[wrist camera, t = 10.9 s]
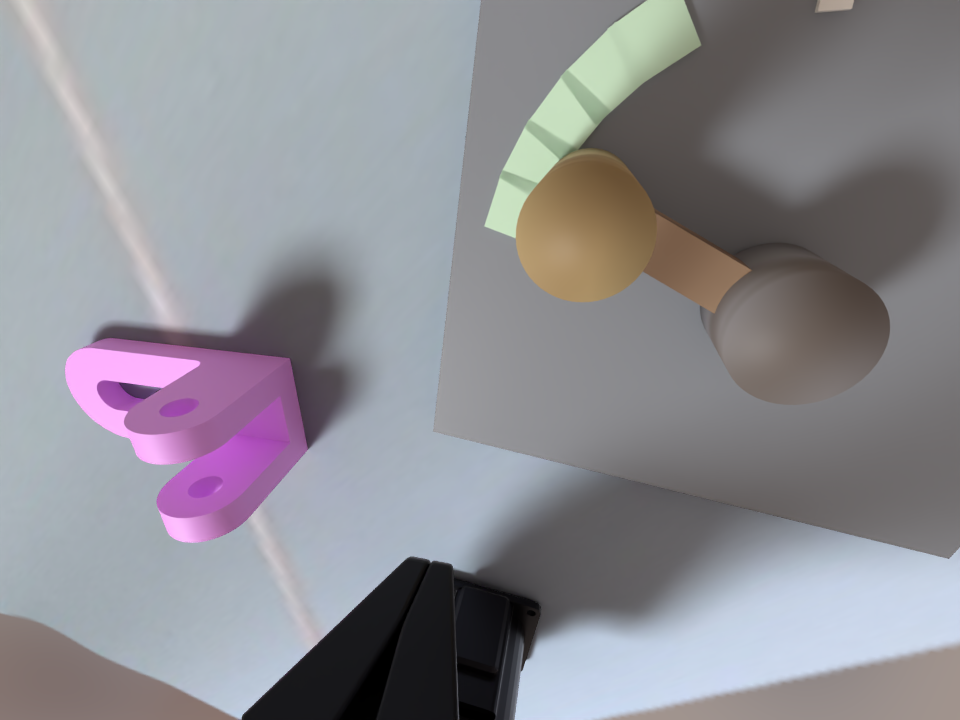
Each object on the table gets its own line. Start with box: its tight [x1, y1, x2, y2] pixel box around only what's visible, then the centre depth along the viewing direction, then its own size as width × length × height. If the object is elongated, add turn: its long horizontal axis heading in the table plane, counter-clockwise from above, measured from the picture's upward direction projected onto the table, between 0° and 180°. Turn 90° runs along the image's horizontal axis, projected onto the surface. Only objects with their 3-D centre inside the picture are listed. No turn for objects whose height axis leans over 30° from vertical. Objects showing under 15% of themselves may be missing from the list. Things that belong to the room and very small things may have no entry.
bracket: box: [65, 338, 308, 542], centre depth 23 cm, size 13×6×7 cm, turn 89°
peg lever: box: [516, 148, 890, 405], centre depth 13 cm, size 10×4×6 cm, turn 63°
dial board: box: [433, 0, 960, 559], centre depth 16 cm, size 19×22×1 cm
